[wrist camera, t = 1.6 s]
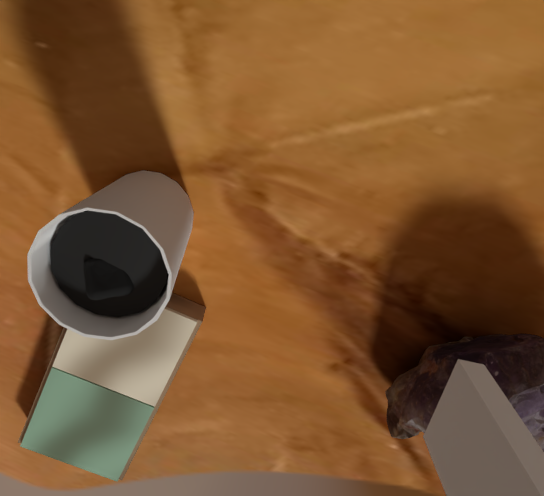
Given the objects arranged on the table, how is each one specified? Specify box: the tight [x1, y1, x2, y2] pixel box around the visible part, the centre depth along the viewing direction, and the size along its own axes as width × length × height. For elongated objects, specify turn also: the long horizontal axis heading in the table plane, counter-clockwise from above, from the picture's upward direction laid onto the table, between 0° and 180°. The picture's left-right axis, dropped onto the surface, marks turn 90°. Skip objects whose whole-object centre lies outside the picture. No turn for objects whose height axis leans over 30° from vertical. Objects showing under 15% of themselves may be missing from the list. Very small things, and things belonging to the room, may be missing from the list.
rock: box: [386, 334, 544, 452], centre depth 33 cm, size 12×9×10 cm
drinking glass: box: [28, 170, 194, 340], centre depth 28 cm, size 7×7×10 cm
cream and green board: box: [18, 293, 206, 481], centre depth 36 cm, size 8×15×2 cm, turn 154°
